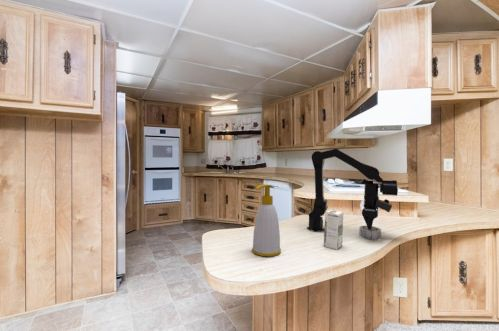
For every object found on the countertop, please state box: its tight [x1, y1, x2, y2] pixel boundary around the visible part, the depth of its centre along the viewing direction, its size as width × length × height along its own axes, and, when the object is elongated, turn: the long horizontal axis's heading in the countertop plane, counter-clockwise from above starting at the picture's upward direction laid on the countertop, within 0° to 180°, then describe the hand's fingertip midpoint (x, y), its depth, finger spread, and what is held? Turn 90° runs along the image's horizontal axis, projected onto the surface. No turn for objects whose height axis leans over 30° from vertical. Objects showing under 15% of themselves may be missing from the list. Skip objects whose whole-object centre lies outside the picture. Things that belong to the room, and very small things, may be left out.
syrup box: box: [323, 209, 344, 250], centre depth 100 cm, size 6×6×14 cm
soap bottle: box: [251, 183, 282, 257], centre depth 94 cm, size 11×12×26 cm
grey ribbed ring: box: [358, 225, 382, 241], centre depth 113 cm, size 9×9×4 cm
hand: (370, 227), depth 113 cm, fingers open, 8 cm apart
